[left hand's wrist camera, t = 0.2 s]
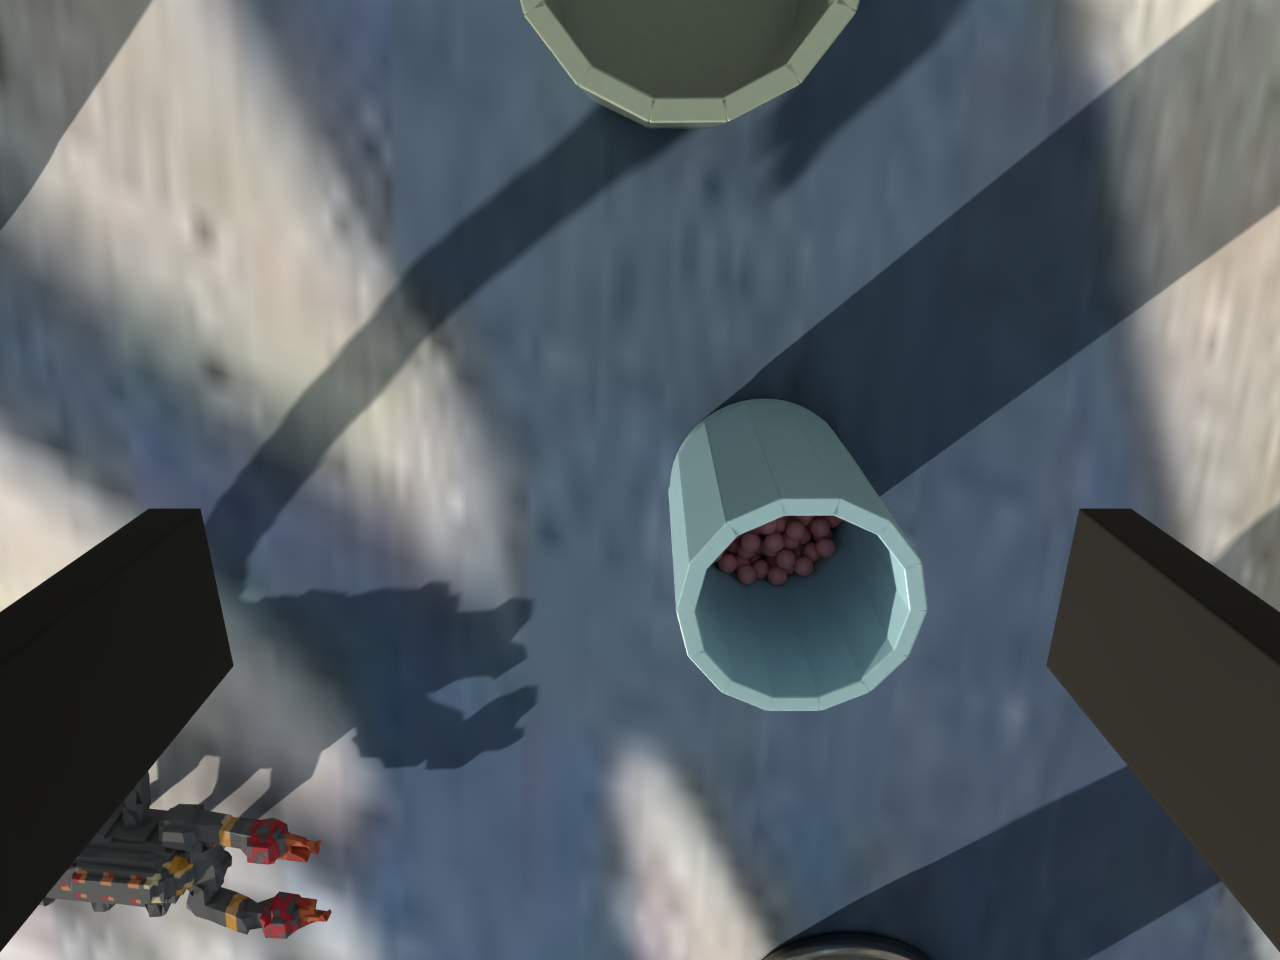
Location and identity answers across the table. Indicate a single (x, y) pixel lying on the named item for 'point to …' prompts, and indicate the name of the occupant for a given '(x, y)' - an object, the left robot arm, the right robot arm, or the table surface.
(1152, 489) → the table surface
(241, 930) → the toy
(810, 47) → the pot
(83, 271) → the table surface
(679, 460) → the beaker
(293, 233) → the table surface
